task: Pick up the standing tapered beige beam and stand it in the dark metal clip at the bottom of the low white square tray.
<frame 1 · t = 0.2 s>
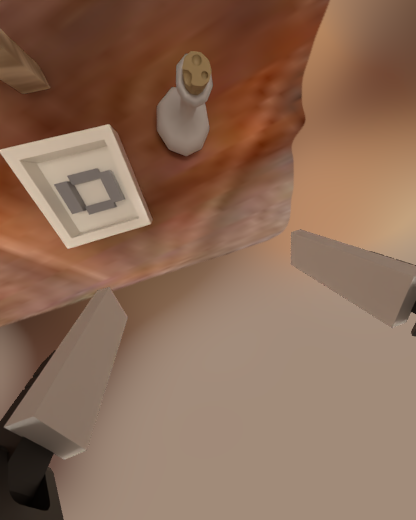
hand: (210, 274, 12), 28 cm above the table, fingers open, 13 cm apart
tapered beige beam: (30, 80, 24), on the table
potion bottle: (182, 130, 30), on the table
white square tray: (97, 192, 31), on the table
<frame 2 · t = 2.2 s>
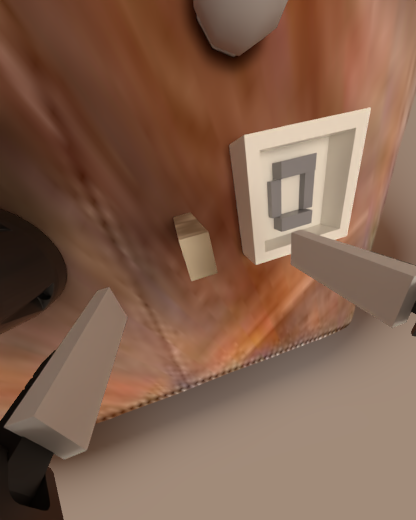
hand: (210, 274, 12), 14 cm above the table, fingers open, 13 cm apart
tapered beige beam: (185, 228, 24), on the table
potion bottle: (227, 6, 16), on the table
white square tray: (283, 194, 25), on the table
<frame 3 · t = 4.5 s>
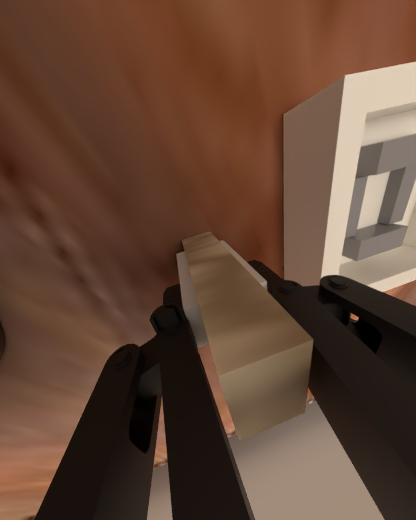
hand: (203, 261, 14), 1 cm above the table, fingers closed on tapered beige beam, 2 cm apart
tapered beige beam: (201, 256, 15), on the table, touching gripper
white square tray: (355, 200, 16), on the table
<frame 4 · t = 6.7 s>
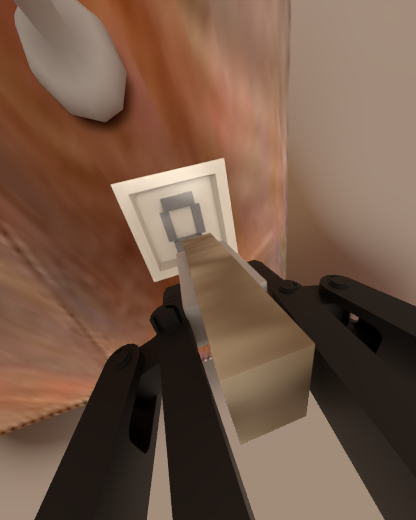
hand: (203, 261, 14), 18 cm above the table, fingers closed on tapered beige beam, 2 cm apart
tapered beige beam: (201, 257, 15), point 17 cm above the table, touching gripper
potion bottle: (93, 85, 20), on the table
white square tray: (182, 221, 29), on the table
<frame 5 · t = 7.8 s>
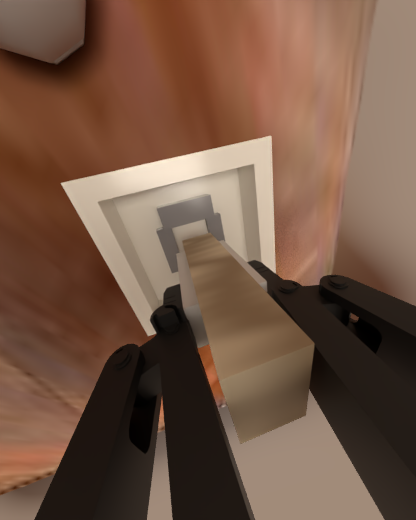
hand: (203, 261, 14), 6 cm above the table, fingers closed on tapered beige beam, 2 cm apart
tapered beige beam: (201, 257, 15), point 5 cm above the table, touching gripper
white square tray: (192, 239, 19), on the table
when the fingers open (4 cm above the table, at t = 8.8 s): tapered beige beam drops 1 cm, resting on white square tray.
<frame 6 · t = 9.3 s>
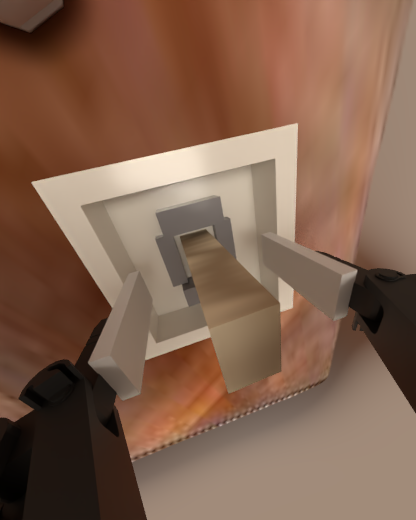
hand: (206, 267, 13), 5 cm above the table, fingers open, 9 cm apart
tapered beige beam: (197, 251, 16), point 1 cm above the table, touching white square tray
white square tray: (197, 247, 17), on the table
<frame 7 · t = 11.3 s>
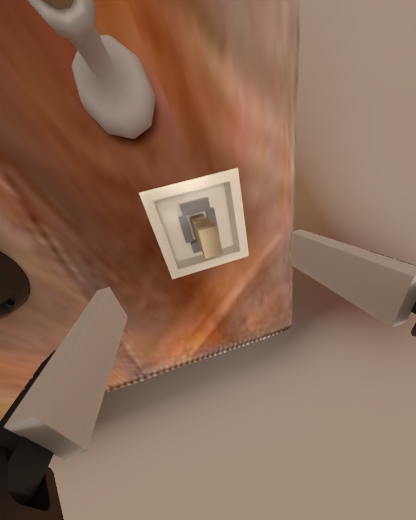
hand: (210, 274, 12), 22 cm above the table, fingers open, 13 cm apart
tapered beige beam: (198, 225, 31), point 1 cm above the table, touching white square tray
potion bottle: (125, 106, 23), on the table
white square tray: (198, 223, 32), on the table
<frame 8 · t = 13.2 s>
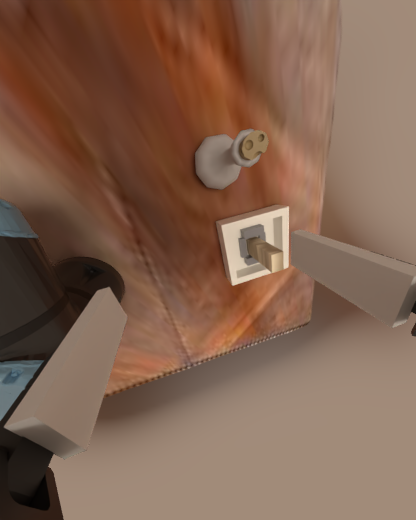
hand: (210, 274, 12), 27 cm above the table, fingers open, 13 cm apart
tapered beige beam: (251, 244, 41), point 1 cm above the table, touching white square tray
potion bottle: (213, 165, 33), on the table
white square tray: (249, 242, 42), on the table
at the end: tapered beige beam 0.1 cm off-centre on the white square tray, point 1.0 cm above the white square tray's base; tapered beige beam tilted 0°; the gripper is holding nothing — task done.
